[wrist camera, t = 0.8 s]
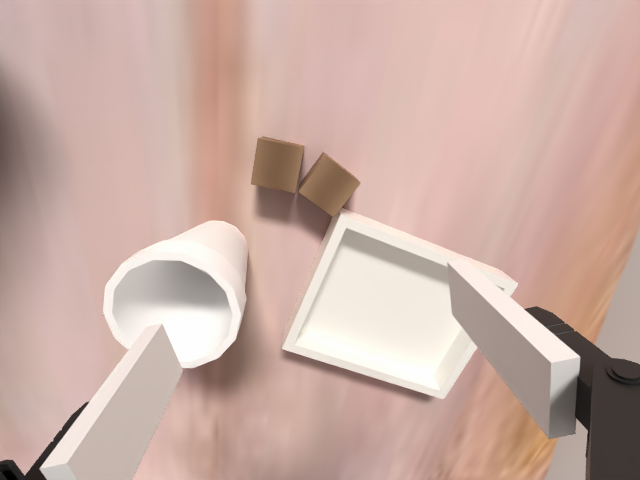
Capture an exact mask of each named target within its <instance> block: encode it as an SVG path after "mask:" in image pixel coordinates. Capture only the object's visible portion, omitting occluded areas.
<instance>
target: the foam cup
mask: <svg viewBox="0 0 640 480" xmlns="http://www.w3.org/2000/svg"><path fill="white" fill-rule="evenodd" d="M247 260H248V247H247V243H246V239H245V237H244V236H243V235H242V233H241V232H240V231H239V230H238V229H237V228H236V227H235V226H233V225H231V224H228V223H226V222H224V221H208V222H206V223H203V224H201V225H199V226H196V227H194V228H192V229H190V230H188V231H186V232H184V233H182V234H180V235H177V236H175V237H173V238H171V239H169V240H163V241H161V242H158V243H156V244H154V245H151V246H149V247H147V248H145V249H142V250H140V251H138V252H137V253H135V254H134V255H133V256H131V257H130V258H129V259H127V260H126V261H125V262H124V263H122V264H121V266H120V267H119V268H118V270H117V271H116V272H115V274H114V275H113V276H112V278H111V279H110V280H109V282H108V283H107V284H106V286H105V295H104V308H103V313H104V316H105V318H106V320H107V322H108V324H109V327H110V329H111V331H112V333H113V335H114V338H115V339H116V340H118V341H119V342H120V343H121V344H122V345H123V346H124V347H125V348H127V349H128V350H129V349H130V347H131V346H132V345H133V343H134V342H135V341H136V340H137V338H138V337H139V336H140V334H141V333H142V332H143V330H144V329H145V328H146V327H147V326H152V325H157V324H161V323H162V324H163V326H164V328H165V331H166V333H167V335H168V337H169V340H170V342H171V344H172V347H173V349H174V351H175V353H176V356H177V358H178V360H179V363H180V365H181V367H182V368H195V367H197V366H200V365H202V364H205V363H207V362H210V361H212V360H215V359H218V358H219V357H220V356H221V355H222V354H223V353H224V352H225V350H226V349H227V348H228V347H229V346H230V345H231V344H232V343H233V342H234V341H235V340H236V337H237V334H238V331H239V328H240V324H241V321H242V317H243V313H244V308H245V304H246V300H247V298H246V294H245V283H246V272H247Z"/></svg>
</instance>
